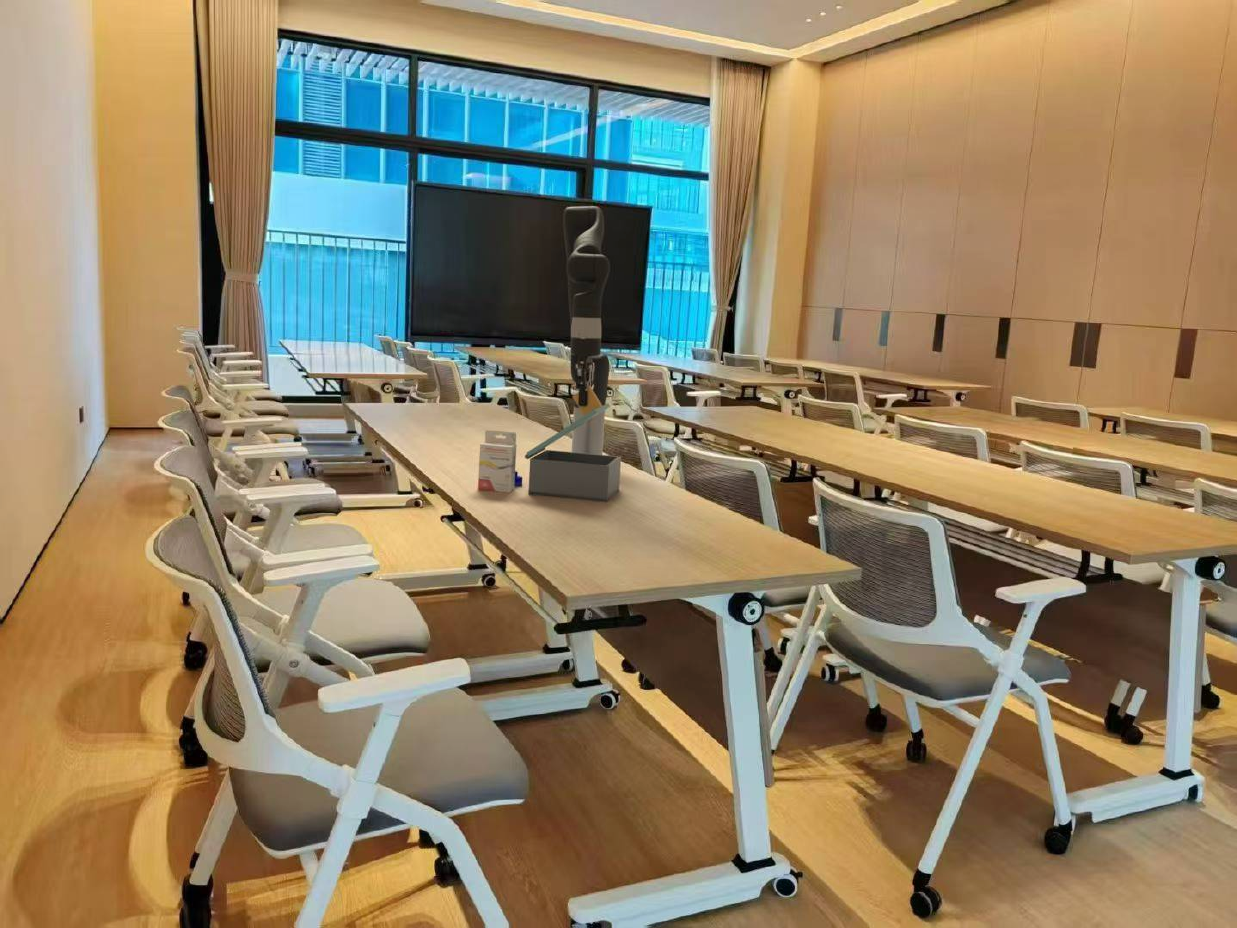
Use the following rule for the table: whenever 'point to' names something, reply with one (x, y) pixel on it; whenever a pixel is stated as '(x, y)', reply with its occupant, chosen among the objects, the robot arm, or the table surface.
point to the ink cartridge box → (497, 462)
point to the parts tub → (574, 475)
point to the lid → (588, 411)
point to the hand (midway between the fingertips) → (583, 405)
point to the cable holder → (517, 480)
